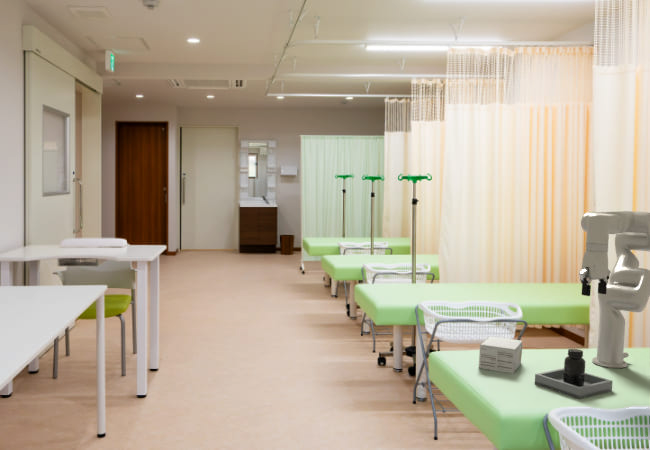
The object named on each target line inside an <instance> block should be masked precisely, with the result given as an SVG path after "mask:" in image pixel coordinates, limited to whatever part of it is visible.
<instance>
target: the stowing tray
mask: <svg viewBox="0 0 650 450" xmlns="http://www.w3.org/2000/svg"><path fill="white" fill-rule="evenodd" d="M563 377H564V367H563V368H557V369H553V370H549V371H544V372H540V373H534V385H537V386H540V387H543V388H546V389H549V390H551V391H555V392H557V393H561V394H564V395H567V396H570V397H571V398H572V397H573V398H575V399H578V400H581V399H584V398H589V397H593V396H596V395H601V394H604V393H608V392H612V390H613V380H611V379H608V378H605V377H602V376H598V375H594V374H590V373H588V372H585V377H584V385H583V386H581V387H578V386H575V385H571V384H568V383H565V382H563Z"/></svg>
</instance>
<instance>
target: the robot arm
mask: <svg viewBox="0 0 650 450" xmlns="http://www.w3.org/2000/svg"><path fill="white" fill-rule="evenodd" d="M580 225H581V229H582V230H583V231H584V232H585V233H586V239H585V251H584V253H583V257H582V263H581V271H579V275H578V276H579V278H580V282H581V283H580V284H581V295H582V296H586V297H591V291H592V290H591V289H592V285H591V283H592V281H594V280H598V281H599V282H598V283H597V300H598V307H599V308H598V310H599V311H598V312H599V313H598V314H599V317H598V334H597V350H596V356H594V357H593V358H592V360H591V361H592V363H594V364H596V365H598V366H601V367H605V368H613V369H624V368H626V367H628V363H627V361H625V360H624V359H625V358H628V357H629V353H628V352H624V350H625V348H624V347H625V335H626V334H625V333H626V319H625V317H624V315H623V313H622V312H621V311H623V312H624V311H626V312H632V313H641V312H643V311H644V310H645V308H646V307H647V305H648V302H649V299H650V269H647V268H642V267H640V261H639V259H638V257H637V256H636V255H635V254H634V253H633V252H632V251H640V252H641V251H642V252H650V212H648V211H629V210H624V211H621V210H620V211H606V212H605V211H601V212H599V211H598V212H596V211H595V212H586V213H585V214H583V216H582V217H581V219H580ZM609 235H615V236H614V237H615V238H614V247H615V248H614V249H615V254H616V261H615V264H614V265H613V267H612V271H611V270H610V269H609V256H608V255H609V254H608V253H609V238H610V236H609ZM608 283H609V284H608Z"/></svg>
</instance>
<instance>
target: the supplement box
mask: <svg viewBox="0 0 650 450" xmlns="http://www.w3.org/2000/svg"><path fill="white" fill-rule="evenodd" d="M522 355H523V340H520V339H519V340H518V339H511V338H506V337H505V338H504V337H499V336H498V337H497V336H488V338H486V339H485V340H483V342H482V343H480V345H479V356H478V357H479V358H478V359H479V360H478V368H479V369H482V368H483V370H488V369H489V371H495V372H500V373H501V372H502V373H506V374H514V373H515V372H516V370H517V369H518V368H519V367H520V365H521V363H522Z"/></svg>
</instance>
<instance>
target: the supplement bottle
mask: <svg viewBox="0 0 650 450" xmlns="http://www.w3.org/2000/svg"><path fill="white" fill-rule="evenodd" d="M583 357H584V350H582V349H578V348H568V350H567V356H566V357H564V358H565V359H564V363H563V365H564V366H563V368H564V377H563V382H565V383H568V384H571V385H575V386H578V387H581V386H583V385H584V377H585V373H586V360H585V358H583Z"/></svg>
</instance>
